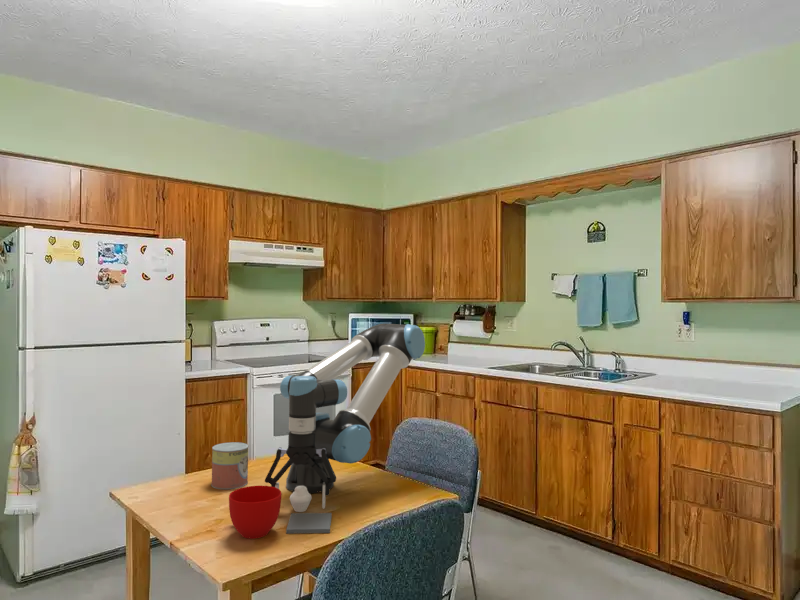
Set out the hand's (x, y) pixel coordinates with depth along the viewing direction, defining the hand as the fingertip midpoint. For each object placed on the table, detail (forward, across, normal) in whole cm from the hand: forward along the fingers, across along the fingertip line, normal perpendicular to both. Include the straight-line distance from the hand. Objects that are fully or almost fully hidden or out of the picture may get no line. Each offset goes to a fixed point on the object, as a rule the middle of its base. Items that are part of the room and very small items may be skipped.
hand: (300, 507), depth 154 cm
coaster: (+1, +4, -10) cm, 11 cm away
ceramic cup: (+1, -11, -14) cm, 18 cm away
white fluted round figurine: (+1, 0, 0) cm, 1 cm away
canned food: (+1, -25, +24) cm, 35 cm away
